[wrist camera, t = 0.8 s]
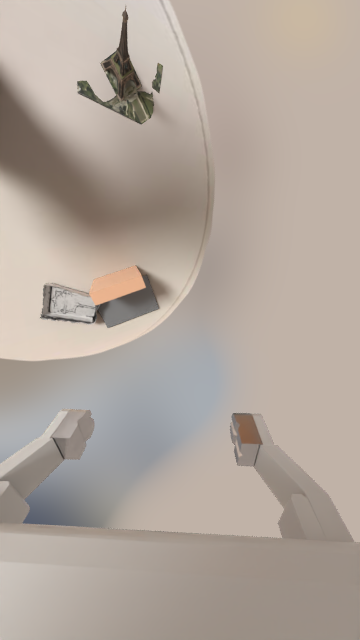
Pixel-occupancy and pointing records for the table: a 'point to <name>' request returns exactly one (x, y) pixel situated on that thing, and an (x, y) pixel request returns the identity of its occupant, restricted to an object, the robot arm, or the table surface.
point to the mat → (128, 305)
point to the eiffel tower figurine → (124, 83)
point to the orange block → (116, 285)
